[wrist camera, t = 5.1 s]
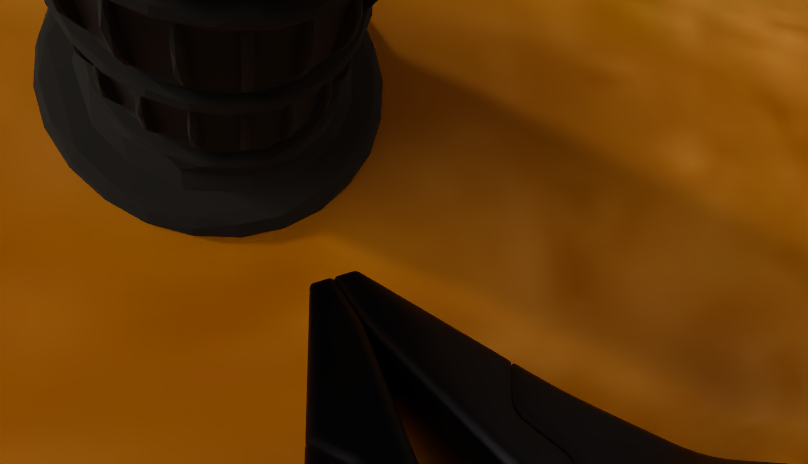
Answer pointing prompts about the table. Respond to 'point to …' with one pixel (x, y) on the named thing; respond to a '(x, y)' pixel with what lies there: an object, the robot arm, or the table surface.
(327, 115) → the handle grip
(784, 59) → the table surface
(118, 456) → the table surface
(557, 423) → the robot arm
